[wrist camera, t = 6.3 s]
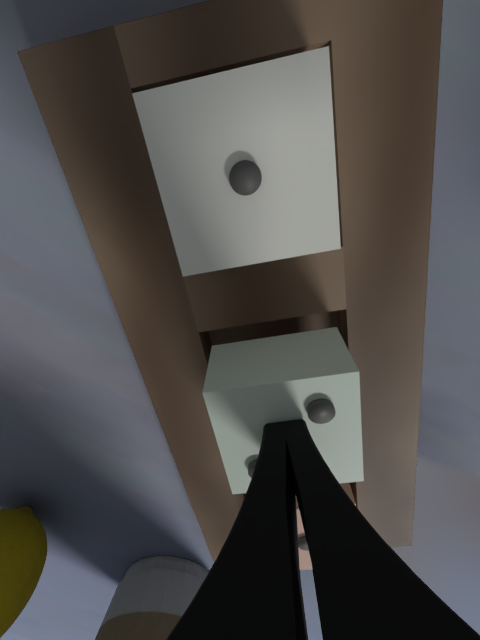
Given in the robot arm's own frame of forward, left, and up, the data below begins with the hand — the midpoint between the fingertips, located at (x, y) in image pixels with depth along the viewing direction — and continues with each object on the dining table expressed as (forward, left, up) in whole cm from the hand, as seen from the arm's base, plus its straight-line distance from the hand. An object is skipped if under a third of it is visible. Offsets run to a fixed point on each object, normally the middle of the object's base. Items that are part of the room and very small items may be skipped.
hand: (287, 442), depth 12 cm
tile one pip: (0, -9, -5) cm, 10 cm away
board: (0, 0, -6) cm, 6 cm away
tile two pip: (0, 0, -3) cm, 3 cm away
